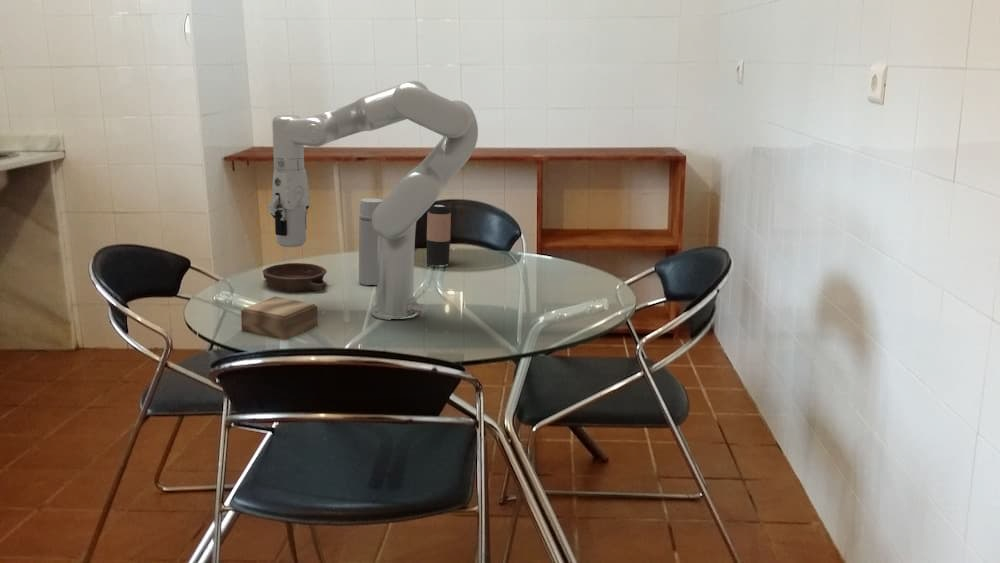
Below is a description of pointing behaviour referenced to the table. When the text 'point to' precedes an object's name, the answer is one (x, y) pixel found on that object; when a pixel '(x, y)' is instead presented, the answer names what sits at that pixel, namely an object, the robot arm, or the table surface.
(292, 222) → the can
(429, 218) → the travel mug
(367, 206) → the water bottle
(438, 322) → the table surface
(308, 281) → the dish
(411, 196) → the robot arm
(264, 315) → the plinth
